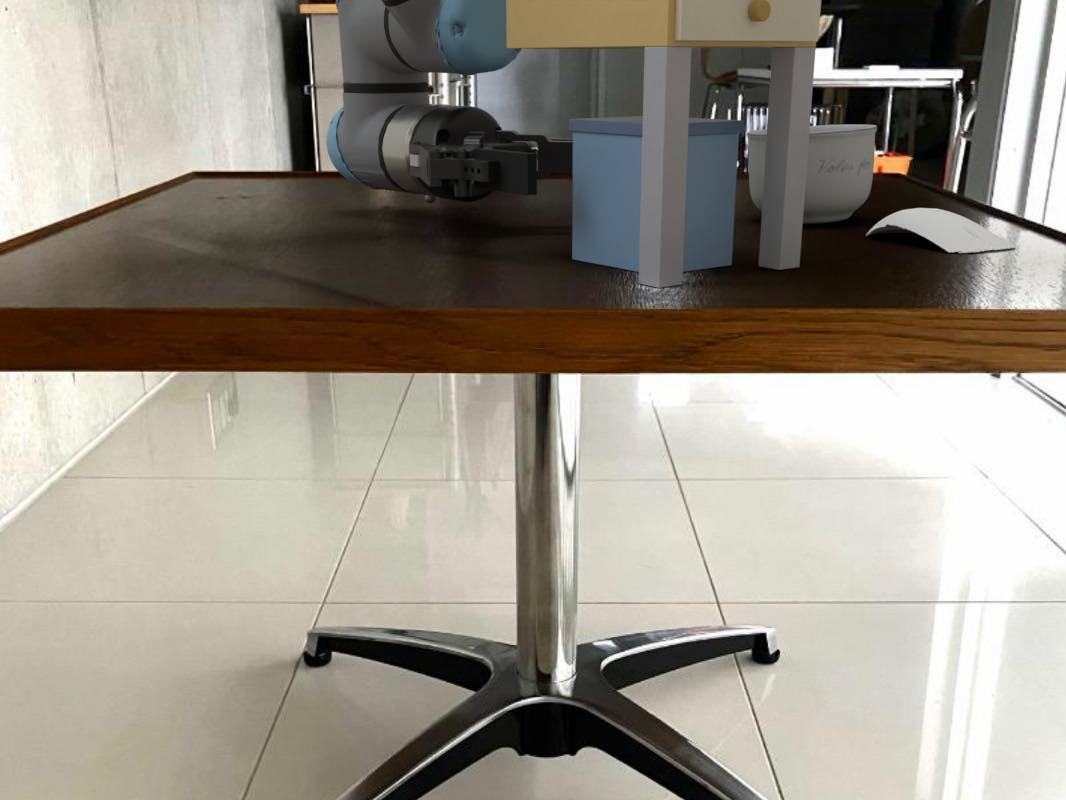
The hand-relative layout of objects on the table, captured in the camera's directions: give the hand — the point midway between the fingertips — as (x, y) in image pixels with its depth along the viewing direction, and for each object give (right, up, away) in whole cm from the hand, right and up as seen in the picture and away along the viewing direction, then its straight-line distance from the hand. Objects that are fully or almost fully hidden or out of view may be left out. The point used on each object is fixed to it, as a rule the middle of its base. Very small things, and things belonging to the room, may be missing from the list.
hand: (609, 169), depth 87 cm
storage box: (+3, -7, -1) cm, 7 cm away
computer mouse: (+26, -3, +8) cm, 27 cm away
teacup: (+19, +2, +21) cm, 29 cm away
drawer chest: (+3, -7, -1) cm, 7 cm away
